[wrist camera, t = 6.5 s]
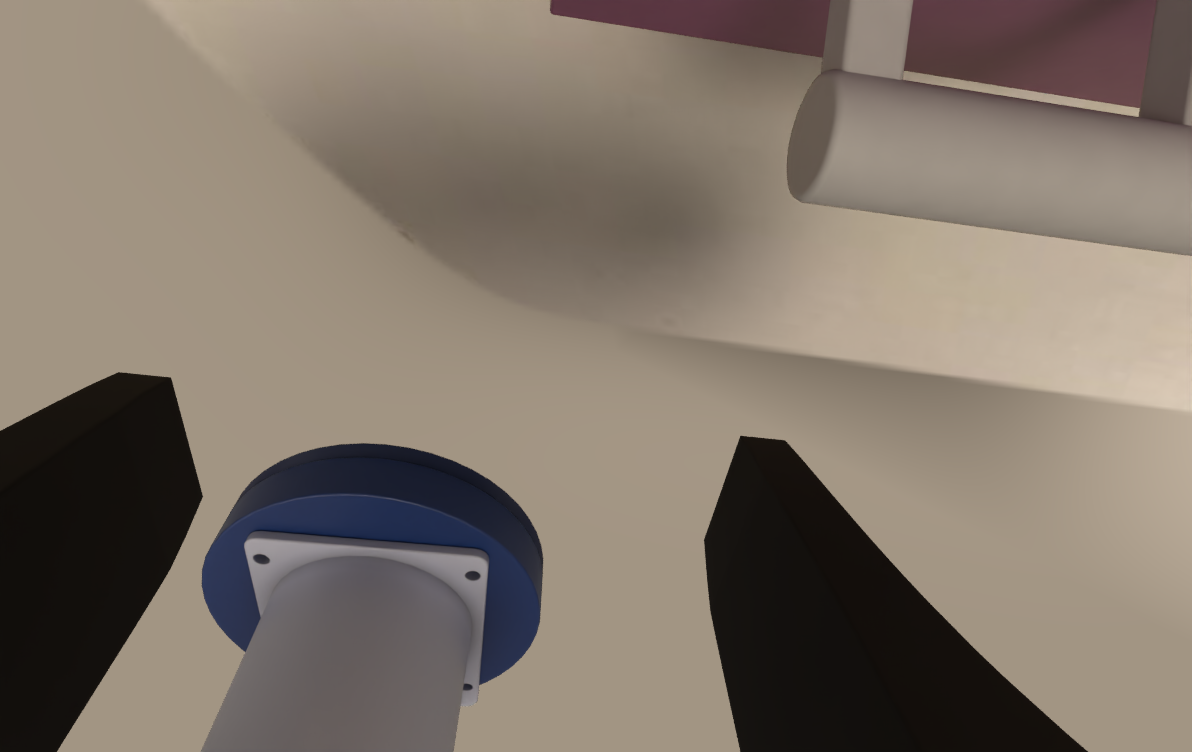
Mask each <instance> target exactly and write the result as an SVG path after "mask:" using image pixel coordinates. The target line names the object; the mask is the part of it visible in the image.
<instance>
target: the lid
mask: <svg viewBox="0 0 1192 752" xmlns="http://www.w3.org/2000/svg"><path fill="white" fill-rule="evenodd" d="M550 11H551V14H553V15H560V16H566V17H572V18H578V19H585V20H591V21H597V22H603V23H610V24H616V25H622V26H628V27H635V28H641V29H647V30H654V31H660V32H666V33H672V34H679V35H685V36H691V37H697V38H704V39H710V40H716V41H722V42H729V43H735V44H741V45H747V46H754V47H760V48H766V49H772V50H779V51H785V52H791V53H797V54H804V55H810V56H816V57H823V62H822V69H821V74H820V75H819V76H818V77H817V78H816V79H815V80H814V82H813V83H812V84H811V86H810V87H809V89H808V91H807V93H806V95H805V97H804V99H803V101H802V103H801V105H800V108H799V110H798V113H797V116H796V119H795V122H794V125H793V129H792V133H791V137H790V142H789V148H788V156H787V180H788V186H789V190H790V193H791V194H792V196H793V197H794V198H795V199H797V200H798V201H800V202H802V203H809V204H817V205H824V206H831V207H839V208H846V209H853V210H860V211H868V212H875V213H882V214H889V215H897V216H904V217H911V218H918V219H926V220H933V221H940V222H947V223H955V224H962V225H969V226H976V227H984V228H991V229H998V230H1006V231H1013V232H1020V233H1027V234H1035V235H1042V236H1049V237H1056V238H1064V239H1071V240H1078V241H1085V242H1093V243H1100V244H1107V245H1114V246H1122V247H1129V248H1136V249H1143V250H1151V251H1158V252H1165V253H1173V254H1180V255H1189V256H1192V0H551V4H550ZM904 71H910V72H916V73H923V74H929V75H935V76H941V77H948V78H954V79H960V80H966V81H973V82H979V83H985V84H992V85H998V86H1004V87H1010V88H1017V89H1023V90H1029V91H1035V92H1042V93H1048V94H1054V95H1060V96H1067V97H1073V98H1079V99H1085V100H1092V101H1098V102H1104V103H1110V104H1117V105H1123V106H1129V107H1135V108H1140V112H1139V117H1133V116H1127V115H1121V114H1114V113H1108V112H1102V111H1096V110H1089V109H1083V108H1077V107H1070V106H1064V105H1058V104H1051V103H1045V102H1039V101H1032V100H1026V99H1020V98H1013V97H1007V96H1001V95H994V94H988V93H982V92H976V91H969V90H963V89H957V88H950V87H944V86H938V85H931V84H925V83H919V82H912V81H906V80H903V72H904Z"/></svg>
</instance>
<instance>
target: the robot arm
mask: <svg viewBox="0 0 1192 752" xmlns="http://www.w3.org/2000/svg"><path fill="white" fill-rule="evenodd" d="M202 497H203V496H202V492H201V488H200V484H199V480H198V477H197V473H196V469H195V466H194V462H193V458H192V454H191V451H190V447H189V443H188V439H187V436H186V432H185V428H184V424H183V421H182V417H181V413H180V410H179V406H178V402H177V398H176V395H175V391H174V387H173V383H172V380H171V378H169V377H160V376H159V377H158V376H150V375H140V374H130V373H120V372H118V373H116V374H114V375H111V376H109V377H107V378H105V379H103V380H100V381H98V382H96V383H94V384H92V385H89V386H87V387H85V388H83V389H81V390H80V391H77V392H75V393H73V394H71V395H69V396H67V397H65V398H63V399H62V400H60V401H57V402H55V403H54V404H51V405H49V406H48V407H46V408H44V409H42V410H40V411H38V412H36V413H34V414H32V415H30V416H28V417H26V418H24V419H23V420H21V421H19V422H17V423H15V424H13V425H11V426H9V427H7V428H5V429H3V430H1V431H0V752H57V751H58V749H59V747H60V746H61V744H62V742H63V741H64V739H65V738H66V736H67V734H68V733H69V731H70V730H71V728H72V726H73V725H74V723H75V722H76V720H77V719H78V717H79V715H80V714H81V712H82V710H83V709H84V707H85V706H86V704H87V703H88V701H89V699H90V698H91V696H92V695H93V693H94V691H95V690H96V688H97V686H98V685H99V684H100V682H101V680H102V679H103V677H104V676H105V674H106V672H107V671H108V669H109V668H110V666H111V664H112V663H113V661H114V660H115V658H116V656H117V655H118V653H119V652H120V650H121V648H122V647H123V645H124V644H125V642H126V641H127V639H128V637H129V636H130V634H131V633H132V631H133V629H134V628H135V626H136V624H137V623H138V621H139V620H140V618H141V616H142V615H143V613H144V612H145V610H146V608H147V607H148V605H149V603H150V602H151V600H152V599H153V597H154V595H155V594H156V592H157V590H158V589H159V587H160V585H161V584H162V582H163V580H164V579H165V577H166V575H167V574H168V572H169V570H170V569H171V566H172V564H173V562H174V560H175V558H176V556H177V554H178V551H179V550H180V547H181V545H182V543H183V541H184V539H185V537H186V535H187V532H188V530H189V527H190V525H191V523H192V520H193V518H194V516H195V514H196V511H197V509H198V507H199V504H200V502H201V500H202ZM704 544H705V557H706V570H707V582H708V592H709V601H710V611H711V616H712V621H713V626H714V631H715V635H716V640H717V645H718V650H719V655H720V659H721V664H722V669H723V673H724V678H725V683H726V687H727V692H728V696H729V701H730V706H731V710H732V715H733V719H734V724H735V729H736V733H737V738H738V742H739V747H740V752H1088V751H1086V750H1085V749H1084V748H1083V747H1081V746H1080V745H1079V744H1078V743H1077V742H1076V741H1075V740H1074V739H1072V738H1071V737H1070V736H1069V735H1068V734H1067V733H1065V732H1064V731H1063V730H1062V729H1061V728H1060V727H1059V726H1057V724H1056V723H1054V722H1053V721H1052V720H1051V719H1050V718H1049V717H1048V716H1046V715H1045V714H1044V713H1043V712H1042V711H1041V710H1040V709H1039V708H1038V707H1037V706H1036V705H1034V704H1033V703H1032V702H1031V701H1030V700H1029V699H1028V698H1027V697H1026V696H1025V695H1023V694H1022V693H1021V692H1020V691H1019V690H1018V689H1017V688H1016V687H1015V686H1013V685H1012V684H1011V683H1010V682H1009V681H1008V680H1007V679H1006V678H1005V677H1003V676H1002V675H1001V674H1000V673H999V672H998V671H997V670H996V669H995V668H994V667H993V666H992V665H991V664H990V663H989V662H988V661H987V660H986V659H985V658H984V657H983V656H982V655H980V654H979V653H978V652H977V651H976V650H975V649H974V648H973V647H972V646H971V645H970V644H969V643H968V642H967V641H966V640H965V639H964V638H963V637H962V636H961V635H960V634H959V633H958V632H957V630H956V629H955V628H953V626H951V624H950V623H948V621H947V620H946V619H945V618H944V617H943V616H942V615H941V614H940V613H939V612H938V611H937V610H936V609H935V608H934V607H933V606H932V605H931V604H930V603H929V602H928V601H927V600H926V599H925V598H924V597H923V596H922V595H921V594H920V593H919V592H918V591H917V589H916V588H915V587H914V586H913V585H912V584H911V583H910V582H909V581H908V580H907V579H906V578H905V577H904V576H903V575H902V573H901V572H900V571H899V570H898V569H897V568H896V567H895V566H894V565H893V563H892V562H891V561H890V560H889V559H888V558H887V557H886V556H885V555H884V554H883V552H882V551H881V550H880V549H879V548H878V547H877V546H876V545H875V543H874V542H873V541H872V540H871V539H870V538H869V537H868V536H867V535H866V533H865V532H864V531H863V530H862V529H861V528H860V526H859V525H858V524H857V523H856V522H855V521H854V520H853V518H852V517H851V516H850V515H849V514H848V513H847V511H846V510H845V509H844V508H843V507H842V506H841V505H840V503H839V502H838V501H837V500H836V499H835V497H834V496H833V495H832V494H831V493H830V492H829V491H828V489H827V488H826V487H825V486H824V485H823V483H822V482H821V481H820V480H819V479H818V478H817V476H816V475H815V474H814V473H813V472H812V471H811V469H810V468H809V467H808V466H807V465H806V463H805V462H804V461H803V460H802V459H801V458H800V457H799V455H798V454H797V453H796V452H795V451H794V450H793V449H792V448H791V447H790V445H789V444H788V443H787V442H786V441H784V440H776V439H765V438H756V437H747V436H740V439H739V442H738V445H737V447H736V450H735V453H734V456H733V459H732V462H731V465H730V467H729V470H728V473H727V476H726V479H725V482H724V485H723V487H722V490H721V493H720V496H719V499H718V502H717V505H716V508H715V510H714V513H713V516H712V519H711V522H710V525H709V528H708V530H707V533H706V536H705V539H704ZM244 548H245V553H246V557H247V561H248V565H249V570H250V574H251V578H252V583H253V587H254V591H255V595H256V600H257V604H258V608H259V613H260V617H261V619H260V621H259V623H258V625H257V628H256V630H255V632H254V634H253V637H252V639H251V641H250V643H249V645H248V648H247V650H246V652H245V654H244V657H243V659H242V661H241V663H240V665H239V668H238V670H237V672H236V674H235V677H234V679H233V681H232V683H231V686H230V688H229V690H228V693H227V695H226V697H225V699H224V701H223V703H222V706H221V708H220V710H219V712H218V714H217V717H216V719H215V721H214V723H213V725H212V728H211V730H210V732H209V734H208V737H207V739H206V741H205V743H204V746H203V748H202V750H201V752H453V751H454V744H455V738H456V731H457V725H458V718H459V712H460V706H471V705H474V704H475V703H476V702H477V700H478V693H479V681H480V669H481V656H482V644H483V631H484V619H485V606H486V594H487V581H488V569H489V556H488V555H487V553H486V552H484V551H482V550H480V549H476V548H464V547H452V546H440V545H428V544H416V543H404V542H391V541H379V540H367V539H355V538H343V537H331V536H319V535H306V534H294V533H282V532H270V531H255V532H252V533H251V534H250V535H249V536H248V537H247V539H246V541H245V543H244Z"/></svg>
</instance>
